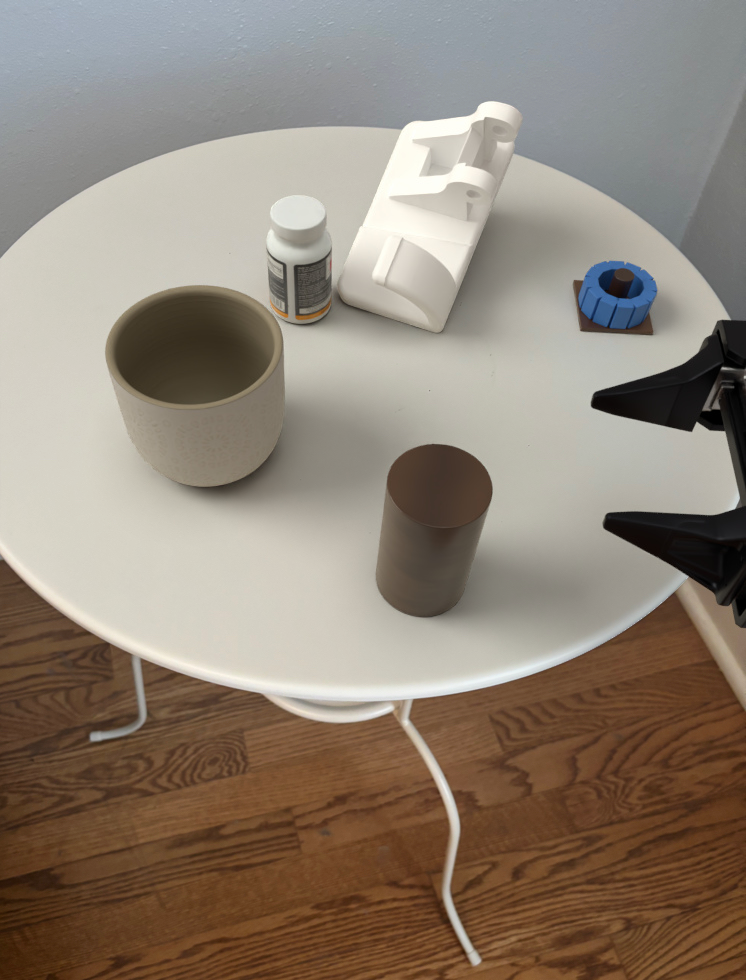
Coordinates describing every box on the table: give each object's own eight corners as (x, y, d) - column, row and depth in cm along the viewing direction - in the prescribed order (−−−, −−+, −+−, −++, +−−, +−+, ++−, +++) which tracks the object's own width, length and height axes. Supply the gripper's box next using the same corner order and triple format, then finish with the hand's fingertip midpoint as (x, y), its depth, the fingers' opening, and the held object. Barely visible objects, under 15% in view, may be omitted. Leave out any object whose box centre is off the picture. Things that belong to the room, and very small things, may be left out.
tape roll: (642, 284, 79) (651, 262, 77) (652, 330, 76) (662, 309, 74) (574, 280, 80) (582, 258, 77) (582, 326, 76) (590, 305, 74)
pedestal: (463, 542, 63) (490, 446, 54) (466, 619, 60) (495, 531, 50) (376, 537, 63) (387, 440, 54) (374, 614, 60) (385, 525, 50)
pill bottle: (334, 287, 79) (336, 193, 70) (327, 329, 75) (329, 235, 67) (274, 282, 79) (269, 187, 70) (265, 324, 76) (259, 229, 67)
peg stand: (641, 286, 80) (655, 252, 77) (652, 335, 76) (667, 301, 73) (572, 283, 80) (583, 248, 77) (580, 330, 76) (592, 297, 73)
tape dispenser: (450, 358, 81) (445, 301, 68) (342, 323, 83) (318, 261, 70) (524, 173, 82) (532, 84, 69) (416, 144, 84) (405, 51, 72)
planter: (311, 413, 70) (311, 312, 61) (246, 526, 63) (235, 432, 54) (178, 370, 72) (159, 266, 63) (103, 475, 66) (69, 376, 57)
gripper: (905, 247, 46) (616, 238, 47) (1032, 520, 35) (654, 498, 37) (817, 392, 55) (576, 381, 56) (897, 644, 44) (598, 623, 46)
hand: (597, 456), depth 49 cm, fingers open, 9 cm apart
